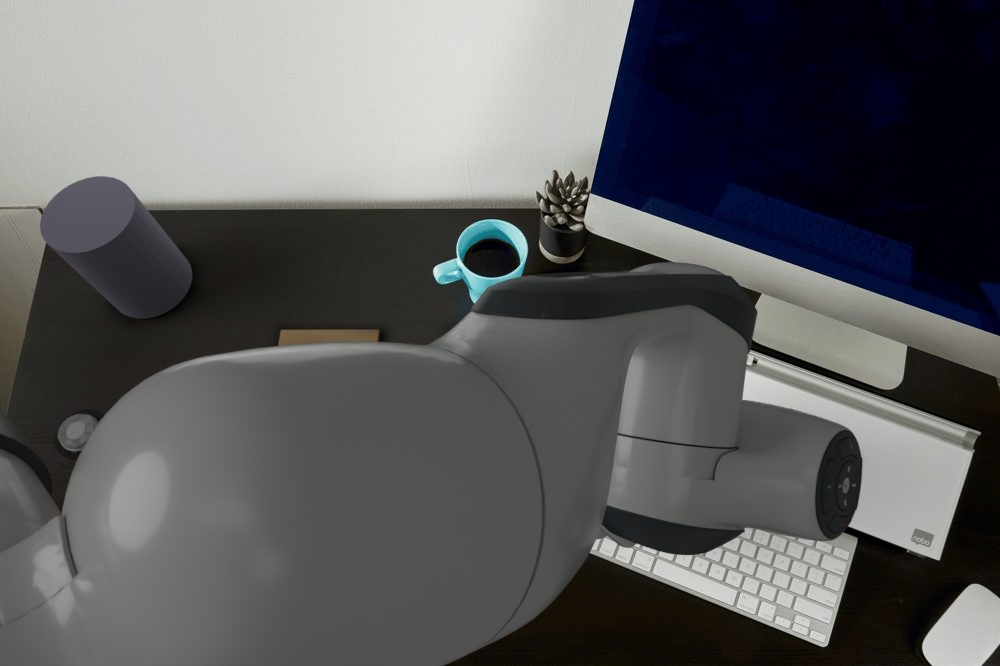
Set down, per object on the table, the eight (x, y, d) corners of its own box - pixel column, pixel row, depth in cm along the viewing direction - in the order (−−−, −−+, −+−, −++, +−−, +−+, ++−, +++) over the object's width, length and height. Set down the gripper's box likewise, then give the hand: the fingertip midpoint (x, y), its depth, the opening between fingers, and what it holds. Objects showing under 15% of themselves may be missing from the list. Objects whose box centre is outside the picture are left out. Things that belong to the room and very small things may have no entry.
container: (187, 316, 90) (126, 248, 77) (105, 323, 90) (30, 257, 77) (198, 247, 95) (141, 172, 82) (120, 254, 95) (51, 180, 82)
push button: (83, 474, 81) (27, 445, 72) (107, 430, 84) (55, 397, 75) (135, 488, 80) (84, 461, 71) (158, 444, 83) (111, 412, 74)
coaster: (369, 426, 82) (368, 424, 81) (266, 426, 83) (263, 423, 82) (380, 332, 88) (378, 329, 87) (282, 332, 88) (280, 329, 88)
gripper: (712, 324, 61) (606, 319, 73) (573, 519, 55) (481, 479, 66) (746, 374, 64) (639, 362, 76) (618, 566, 57) (522, 520, 69)
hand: (564, 418), depth 71 cm, fingers open, 8 cm apart
